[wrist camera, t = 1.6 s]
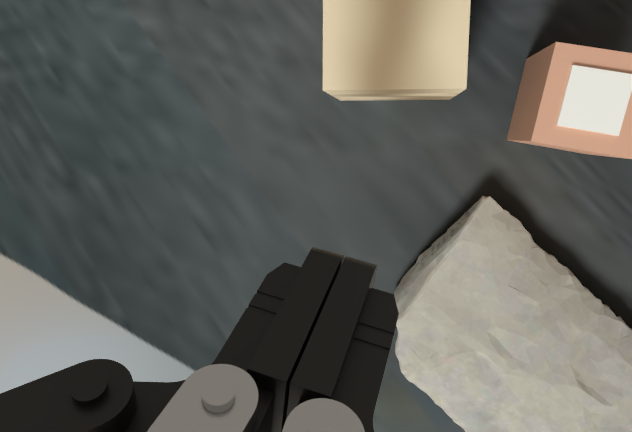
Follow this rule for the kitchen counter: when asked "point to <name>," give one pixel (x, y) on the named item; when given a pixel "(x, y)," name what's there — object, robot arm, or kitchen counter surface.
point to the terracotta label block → (576, 101)
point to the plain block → (395, 49)
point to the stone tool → (511, 334)
